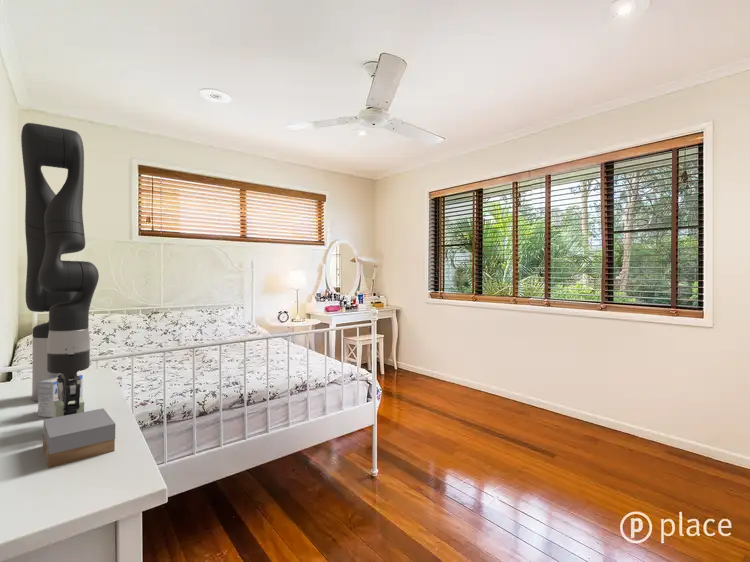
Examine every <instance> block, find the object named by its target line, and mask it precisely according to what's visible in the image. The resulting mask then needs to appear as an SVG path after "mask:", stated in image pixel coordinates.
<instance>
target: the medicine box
mask: <svg viewBox="0 0 750 562" xmlns="http://www.w3.org/2000/svg"><path fill="white" fill-rule="evenodd" d="M77 376H79V378H81V388H80V397H81V398H82V399H83V396H84V395H83V389H84V388H83V382H84V381H83V377H84V376H83V375H82V374H78V373H77ZM57 379H58V377H56V378H52V379H48V380H44V381H40V382H38V401H37V402H38V403H37V407H38V409H37V414H38V415H37V416H38V417H41V418H42V417H44V418H53V401H59V399H58V394H57V391H58V387H57Z"/></svg>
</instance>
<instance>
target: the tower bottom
mask: <svg viewBox="0 0 750 562" xmlns="http://www.w3.org/2000/svg"><path fill="white" fill-rule="evenodd" d="M115 440H116V438H115V439H112V440H108V441H104V442H99V443H95V444H91V445H87V446H83V447H78V448H74V449H70V450H66V451H62V452H57V453H53V454H49V451H48V448H47V444H46V441H45V438H44V433H43V434H42V448H43V453H44V456H45V459H46V464H47V466H48V469H51V468H54V467H57V466H58V467H59V466H62V465H66V464H69V463H74V462H78V461H81V460H85V459H89V458H92V457H93V458H94V457H96V456H100V455H104V454H108V453H113V452H115V447H116V445H115Z"/></svg>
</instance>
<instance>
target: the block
mask: <svg viewBox="0 0 750 562" xmlns="http://www.w3.org/2000/svg"><path fill="white" fill-rule="evenodd" d="M73 404H74V401H70V402H68V405H73ZM79 405H80V407H79V409H78V410H77V413H81V412H85V401H84V398H83V397H82V398H81V397H80V400H79ZM60 416H64V412H63V402H61V401H60V400H59V401H53V418H55V417H60Z"/></svg>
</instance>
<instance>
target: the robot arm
mask: <svg viewBox="0 0 750 562" xmlns="http://www.w3.org/2000/svg"><path fill="white" fill-rule="evenodd" d="M20 136H21V138H20V140H21V141H20V142H21V156H22V164H23V173H24V184H25V186H24V187H25V212H24V213H25V214H24V224H25V225H24V226H25V227H24V228H25V229H24V231H25V233H24V234H25V246H26V257H27V258H26V260H27V261H26V279H25V280H26V282H25V303H26V304H25V305H26V307H27V309H28V310H29V311H31V312H33V313H34V312H35V313H46V312H47V313H48V318H49V319H48V321H47V322H45V323H44V322H43V323H41V324H38V325H36V326H34V327H33V328H32V364H31V365H32V375H31V377H32V379H31V380H32V381H31V383H32V385H31V386H32V387H31V392H32V393H31V394H32V395H31V398H32V399H31V400H32V401H35V402H38V382H40V381H44V380H48V379H52V378H56V377H58V379H57V387H58V391H57V394H58V399H59V400H60V401H61V402H63V412H64V416H65V415H71V414H76V413H77V410H78V409H79V407H80V405H79V400H80V388H81V378H79V376H77V374H78V372H80V371H81V372H82V371H86V370H88V368H90V366H91V365H90V364H91V363H90V361H91V360H90V357H91V356H90V355H91V353H90V352H91V351H90V350H91V349H90V348H91V345H90V344H91V343H90V342H91V339H90V338H91V337H90V336H91V335H90V329H89V315H90V314H89V313H90V307H91V303H92V300H93V297H94V293H95V290H96V288H97V285H98V282H99V275H100V274H99V269H98V268H97V267H96V265H95V264H94V263H92V262H91V261H85V260H82V261H81V260H62V259H61V256H63V255H67V254H73V253H79V252H81V251H83V250H84V249H85V248H86V237H85V236H86V235H85V228H84V226H85V225H84V215H83V203H84V202H83V200H84V186H85V185H84V180H85V179H84V177H85V151H84V149H85V148H84V143H83V140H82V139H83V138H82V136H81V135H80V134H79V132H77V131H75V130H71V129H67V128H62V127H58V126H57V127H56V126H51V125H46V124H41V123H34V122H27V123H25V124H24V125H23V126H22V128H21V135H20ZM42 167H51V168H56V169H57V168H58V169H65V170H66V169H67V176H66V179H65V182H64V184H63V185H62V186H61V188H60V189H59V191H58V192H57V193H56V192H54V190H53V189H52V188H51V186H50V185H49V183H48V181H47V180H46V177H45V176H44V173H43V171H42ZM70 401H74V404H73V405H68V402H70Z"/></svg>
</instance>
